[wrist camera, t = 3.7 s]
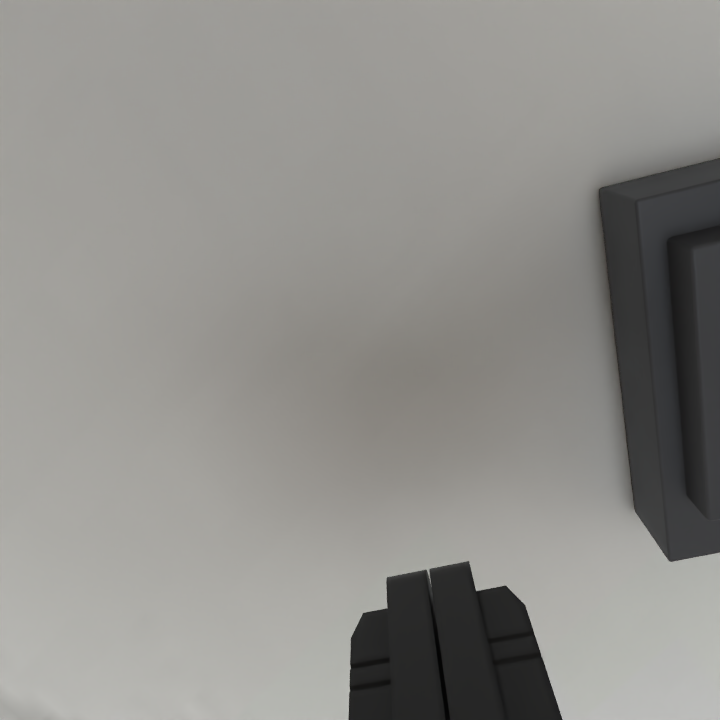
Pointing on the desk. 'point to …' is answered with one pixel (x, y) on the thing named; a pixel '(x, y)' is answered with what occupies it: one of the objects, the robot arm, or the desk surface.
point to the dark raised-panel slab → (669, 348)
